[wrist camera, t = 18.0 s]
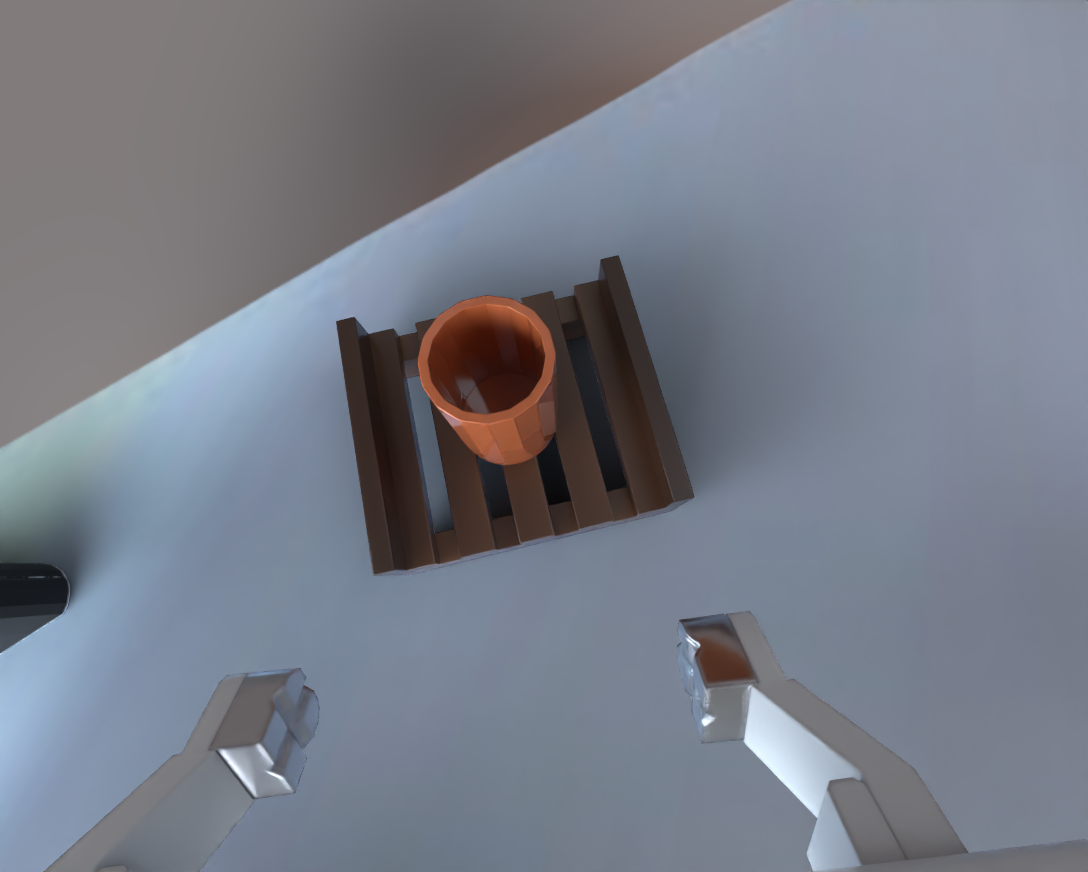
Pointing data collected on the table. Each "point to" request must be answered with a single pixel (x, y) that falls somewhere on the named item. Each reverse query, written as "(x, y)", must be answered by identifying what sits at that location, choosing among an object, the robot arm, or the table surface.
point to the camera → (29, 599)
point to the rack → (400, 484)
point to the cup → (493, 377)
